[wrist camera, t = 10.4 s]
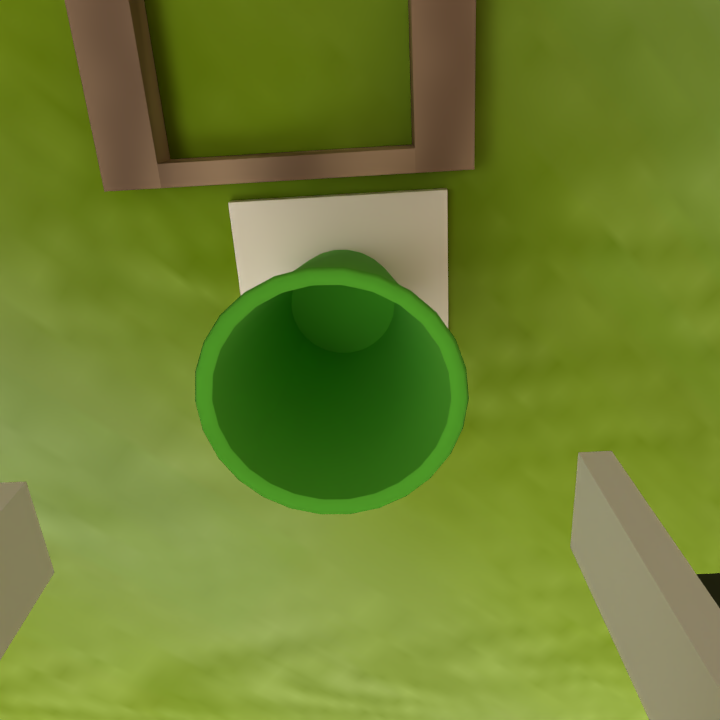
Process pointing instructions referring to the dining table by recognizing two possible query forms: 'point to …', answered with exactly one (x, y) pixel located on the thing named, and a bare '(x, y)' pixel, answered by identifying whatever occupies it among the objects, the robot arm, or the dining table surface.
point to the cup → (331, 387)
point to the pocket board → (156, 170)
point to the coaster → (348, 236)
